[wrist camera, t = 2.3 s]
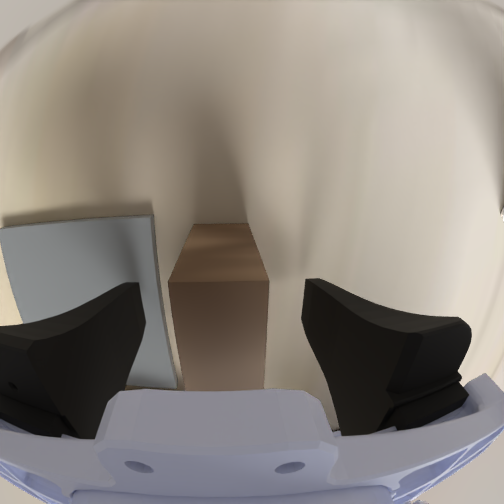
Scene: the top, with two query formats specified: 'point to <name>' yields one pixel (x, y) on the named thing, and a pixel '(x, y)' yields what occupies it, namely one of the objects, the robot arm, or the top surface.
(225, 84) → the top surface
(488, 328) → the top surface
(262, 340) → the tall brown wooden block
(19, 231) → the mat
